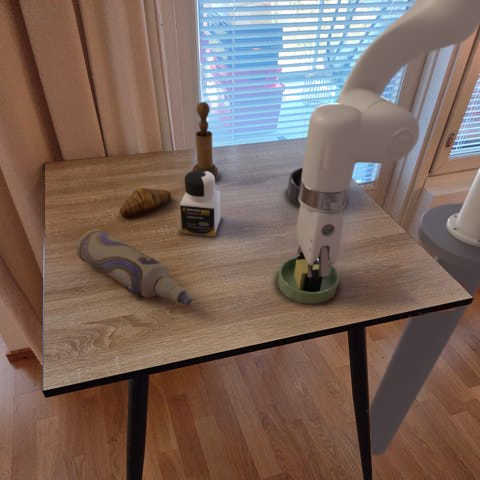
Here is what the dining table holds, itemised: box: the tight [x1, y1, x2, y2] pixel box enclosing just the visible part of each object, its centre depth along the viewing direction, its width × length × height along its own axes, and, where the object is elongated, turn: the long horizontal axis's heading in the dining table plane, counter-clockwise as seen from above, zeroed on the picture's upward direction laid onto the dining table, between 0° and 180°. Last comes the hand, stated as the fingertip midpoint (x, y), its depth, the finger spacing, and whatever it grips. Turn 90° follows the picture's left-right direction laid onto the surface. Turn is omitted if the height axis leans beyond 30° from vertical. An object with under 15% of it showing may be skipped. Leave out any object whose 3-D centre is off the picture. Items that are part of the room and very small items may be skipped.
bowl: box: [287, 167, 303, 208], centre depth 101 cm, size 14×14×4 cm
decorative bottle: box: [75, 228, 194, 306], centre depth 75 cm, size 26×8×7 cm, turn 52°
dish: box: [277, 256, 340, 305], centre depth 78 cm, size 11×11×2 cm
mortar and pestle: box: [192, 101, 219, 182], centre depth 102 cm, size 7×6×18 cm
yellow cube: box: [294, 259, 319, 290], centre depth 77 cm, size 4×4×4 cm
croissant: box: [119, 187, 172, 218], centre depth 95 cm, size 14×7×5 cm, turn 134°
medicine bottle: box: [179, 170, 221, 237], centre depth 87 cm, size 7×7×12 cm
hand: (307, 281), depth 78 cm, fingers open, 4 cm apart
